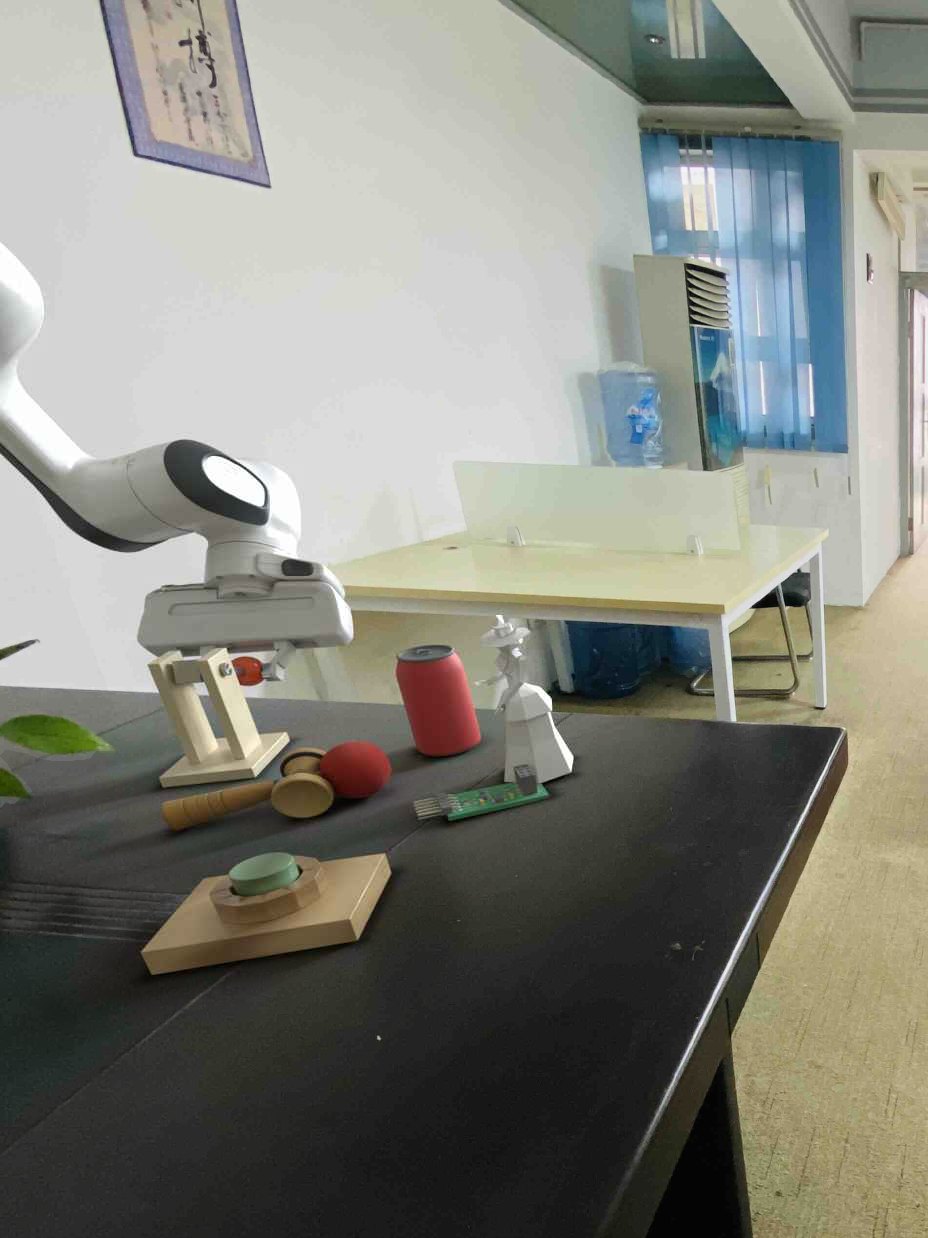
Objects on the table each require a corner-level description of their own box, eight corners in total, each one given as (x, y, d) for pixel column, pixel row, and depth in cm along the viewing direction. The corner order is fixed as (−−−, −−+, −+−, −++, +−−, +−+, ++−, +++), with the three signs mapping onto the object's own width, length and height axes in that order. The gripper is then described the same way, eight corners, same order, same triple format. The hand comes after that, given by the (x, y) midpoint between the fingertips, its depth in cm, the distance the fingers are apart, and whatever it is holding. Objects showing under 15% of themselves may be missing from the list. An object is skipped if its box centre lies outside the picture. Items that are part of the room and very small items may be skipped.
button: (227, 902, 63) (218, 883, 62) (248, 874, 66) (241, 856, 66) (289, 893, 64) (282, 874, 63) (307, 866, 68) (300, 848, 67)
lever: (238, 687, 98) (233, 657, 98) (275, 684, 99) (269, 655, 99) (168, 690, 85) (161, 655, 84) (210, 686, 86) (204, 653, 86)
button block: (151, 975, 60) (129, 932, 59) (213, 899, 69) (195, 860, 67) (357, 941, 65) (343, 900, 63) (391, 873, 73) (379, 835, 71)
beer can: (465, 731, 101) (442, 639, 96) (493, 744, 98) (470, 650, 93) (407, 748, 96) (379, 652, 91) (434, 764, 93) (406, 665, 88)
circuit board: (415, 803, 78) (407, 783, 82) (421, 831, 80) (413, 810, 83) (546, 776, 86) (534, 759, 89) (550, 802, 87) (538, 784, 90)
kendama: (174, 863, 75) (396, 795, 83) (138, 802, 73) (369, 739, 81) (199, 837, 82) (403, 777, 90) (167, 781, 80) (379, 724, 88)
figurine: (487, 776, 90) (448, 619, 83) (553, 751, 97) (522, 604, 90) (526, 790, 87) (490, 628, 80) (592, 764, 93) (563, 611, 87)
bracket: (206, 748, 94) (164, 644, 89) (290, 740, 97) (253, 638, 91) (162, 787, 86) (112, 674, 80) (255, 777, 88) (212, 667, 83)
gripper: (129, 572, 95) (117, 678, 90) (338, 563, 101) (336, 662, 97) (163, 599, 100) (154, 700, 96) (359, 589, 107) (358, 684, 103)
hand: (247, 681), depth 97 cm, fingers closed on lever, 3 cm apart
